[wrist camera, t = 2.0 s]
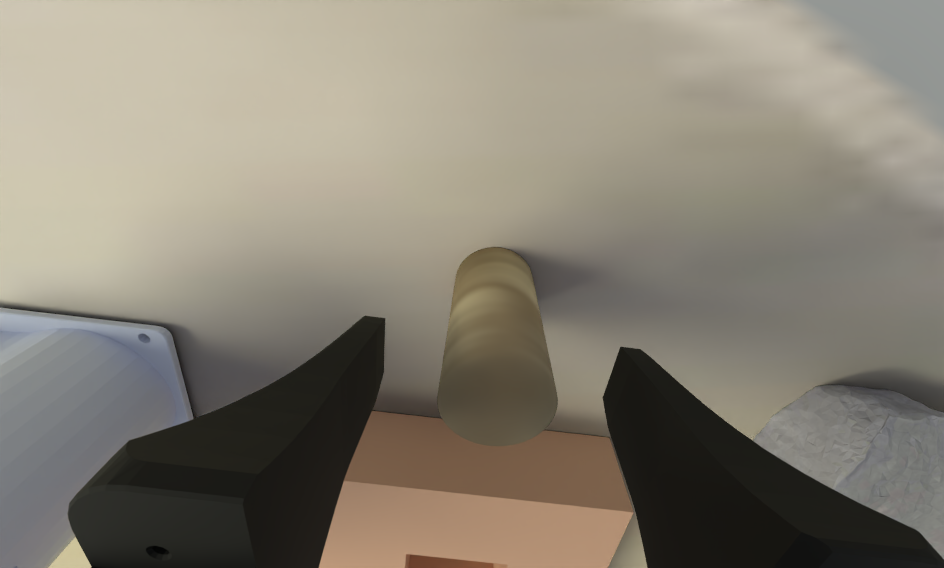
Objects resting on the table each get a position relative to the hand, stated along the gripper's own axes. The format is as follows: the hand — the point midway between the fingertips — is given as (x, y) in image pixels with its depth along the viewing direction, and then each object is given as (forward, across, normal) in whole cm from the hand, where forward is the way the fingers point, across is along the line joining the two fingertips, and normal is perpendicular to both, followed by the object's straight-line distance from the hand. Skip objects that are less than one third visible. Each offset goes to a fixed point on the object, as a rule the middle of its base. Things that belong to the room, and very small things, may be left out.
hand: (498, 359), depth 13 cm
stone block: (+6, -20, +8) cm, 22 cm away
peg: (+5, 0, 0) cm, 5 cm away
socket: (+5, 0, +15) cm, 16 cm away
